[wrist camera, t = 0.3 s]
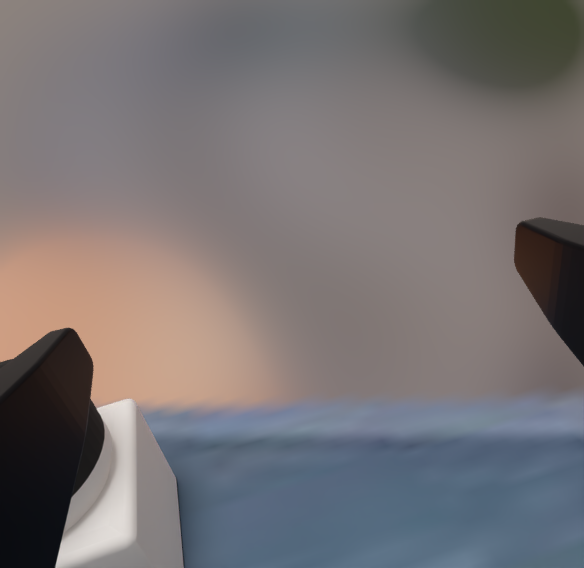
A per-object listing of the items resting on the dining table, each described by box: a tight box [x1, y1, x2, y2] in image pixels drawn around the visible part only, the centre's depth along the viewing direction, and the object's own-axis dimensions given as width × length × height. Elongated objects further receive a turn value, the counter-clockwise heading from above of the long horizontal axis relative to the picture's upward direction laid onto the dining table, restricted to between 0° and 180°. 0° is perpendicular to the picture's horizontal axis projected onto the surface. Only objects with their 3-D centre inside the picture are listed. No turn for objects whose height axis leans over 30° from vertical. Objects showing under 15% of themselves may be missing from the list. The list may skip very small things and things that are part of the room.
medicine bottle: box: [0, 359, 184, 568], centre depth 19 cm, size 7×7×12 cm
